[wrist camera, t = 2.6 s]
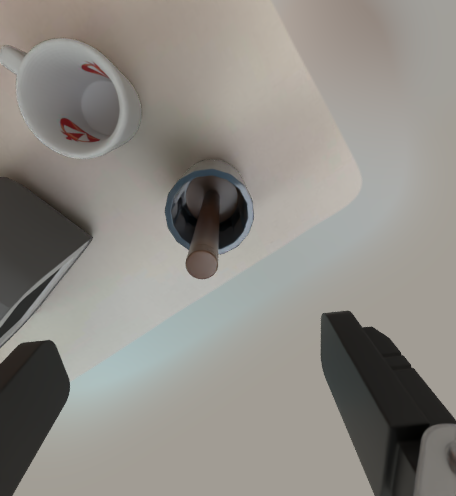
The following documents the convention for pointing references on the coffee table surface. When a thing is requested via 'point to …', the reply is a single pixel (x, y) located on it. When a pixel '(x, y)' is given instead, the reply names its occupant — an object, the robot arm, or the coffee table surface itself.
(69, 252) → the alarm clock
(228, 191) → the wooden plunger
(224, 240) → the utensil crock
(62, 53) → the cup
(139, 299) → the coffee table surface
